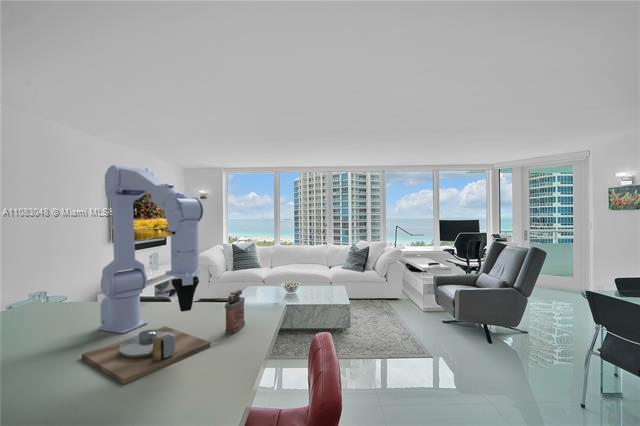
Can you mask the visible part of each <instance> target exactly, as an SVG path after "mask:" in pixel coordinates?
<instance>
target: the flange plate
mask: <svg viewBox="0 0 640 426" xmlns="http://www.w3.org/2000/svg"><path fill="white" fill-rule="evenodd" d="M134 336H135V337H134ZM134 336H131V337H132V338H131V337H129V338H130V339H128V338H126V339H127V340H126V341H124V342H123V343H122V344H121V345H120V355H121V356H123V357H127V358H142V357H148V356H152V355H153V338H156V337H161V354H162V357H163V358H166V357H168V356H171V355H173V354H174V353H175V336H174V334H172V333H169V332H157V330H155V329H152V328H151V329H145V330H142V331H140V332H139V333H138V336H137V335H134Z"/></svg>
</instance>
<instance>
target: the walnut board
mask: <svg viewBox="0 0 640 426" xmlns="http://www.w3.org/2000/svg"><path fill="white" fill-rule="evenodd" d="M154 330H157V332H169V333H172V334H174V336H175V353H174V354H173V355H171V356H168V357H166V358H163V357H162V354H161V337H156V338H153V355H152V356H148V357H142V358H127V357H123V356H121V355H120V345H121V344H122V343H123V342H124V341H126V340H127V339H130V338H132V337H135V336H138V335H139V334H138V335H134V336H130V337H129V338H126V339H122V340H118V341H116V342H113V343H110V344H107V345H104V346H101V347H98V348H95V349H92V350H89V351H87V352H83V353H81V359H82V360H84V361H85V362H87V363H88V364H90V365H91V366H93V367H94V368H97V369H98V370H100V371H101V372H103V373H105V374H106V375H108V376H109V377H111V378H112V379H114V380H116V381H118V382H119V383H121V384H123V385H126V384H129V383H131V382H134V381H135V380H138V379H139V378H142V377H145V376H146V375H149V374H150V373H154V372H155V371H157V370H160V369H162V368H165V367H167V366H170V365H171V364H174V363H176V362H178V361H181V360H183V359H185V358H187V357H190V356H192V355H194V354H196V353H199V352H201V351H203V350H205V349H208V348H210V347H211V341H208V340H205V339H202V338H200V337H197V336H194V335H190V334H188V333H185V332H183V331H179V330H177V329H174V328H171V327H169V326H165V325H164V326H161V327H158V328H156V329H154Z"/></svg>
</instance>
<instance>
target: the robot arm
mask: <svg viewBox="0 0 640 426" xmlns="http://www.w3.org/2000/svg"><path fill="white" fill-rule="evenodd" d="M104 190H105V197H106V198H108V199H110V200H111V219H112V240H113V241H112V242H113V246H112V247H113V260H111V262H110V263H108V264H107V265H105V266H104V267H103V268H102V271H101V272H102V273H101V280H100V289H101V293H102V294H103V295H104V296H105V297H103V298H102V300H101V301H100V302H101V303H100V326H99V327H97V330H99V331H105V332H112V333H118V334H125V333H127V332H130V331H132V330H135V329H137V328H140V327H142V326H145V325H146V324H148V323H149V322H148V320H147V321H146V320H141V294H143V290H145V288H146V286H147V284H148V275H147V272H146V269H145V268H146V267H145V264H144V263H143V262H142V261H140V260H137V259H136V247H135V226H134V225H135V223H134V222H135V221H134V220H135V219H134V218H135V217H134V202H136V200H138V199H141V198H142V197H143V196H144V195H146V193H147V194H149V195H150V199H151V202H152V203H153V204H154V205H155V206H157V207H158V208H160V210H161V211H163V212H164V217H165V220H166V223H167V229H168V231H169V232H170V269H169V270H166V271H165V276H171V277H174V278H173V279H171V285H172V287H173V289H174V291H175V292H176V295H177V299H178V305H179V310H180V312H188V311H191V310H192V307H193V303H194V302H193V301H194V298H195V297H194V296H195V292H196V289H197V287H198V285H199V283H200V279H199V276H198V274H200V267H199V222H200V221H201V220H202V218H203V216H204V206H203V203H202V201H201V200H200V199H199V198H198V197H187V196H186V195H185V193H184V192H182V191H179V190H178V189H177V188H175V185H174V184H173V183H168V182H166V183H161V182H160V181H159V180H158V179H156V177H154V172H153V170H151V169H149V168H140V167H139V168H137V167H129V166H119V165H114V164H113V165H110V166H109V167H108V168H107V170H106V172H105V174H104ZM175 277H176V278H175Z"/></svg>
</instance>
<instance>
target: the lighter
mask: <svg viewBox="0 0 640 426" xmlns="http://www.w3.org/2000/svg"><path fill="white" fill-rule="evenodd" d="M242 294H243V289H242V290H241V289H237V290H235V291H231V292H230V294H229V295H227V296H228V301H227V302H226V303H225V304H224V308H225V331H224V334H225V335H227V336H228V335H229V336H231V334H232V335H235V334H236V333H238V332H240V331H241V330H242V329H243V328H244V327H245V326H246V321H245V300H246V299H245V297H243V296H242ZM244 325H245V326H244ZM243 326H244V327H243ZM242 327H243V328H242ZM239 330H240V331H239Z"/></svg>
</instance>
